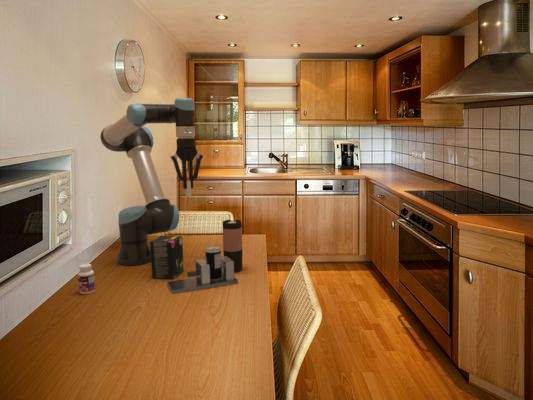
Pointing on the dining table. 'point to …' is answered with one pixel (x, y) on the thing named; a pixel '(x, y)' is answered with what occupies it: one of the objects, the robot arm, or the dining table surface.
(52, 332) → the dining table surface
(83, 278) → the pill bottle
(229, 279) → the vise base
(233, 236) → the travel mug
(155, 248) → the tampon box
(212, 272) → the beverage can
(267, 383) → the dining table surface
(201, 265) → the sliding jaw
